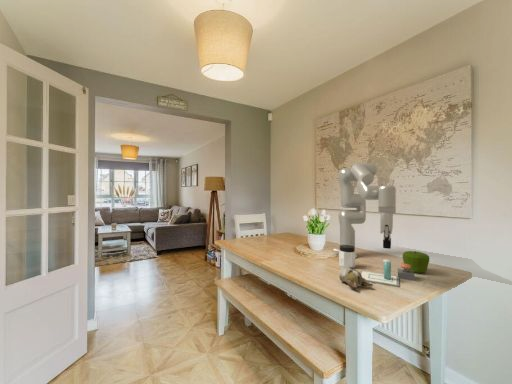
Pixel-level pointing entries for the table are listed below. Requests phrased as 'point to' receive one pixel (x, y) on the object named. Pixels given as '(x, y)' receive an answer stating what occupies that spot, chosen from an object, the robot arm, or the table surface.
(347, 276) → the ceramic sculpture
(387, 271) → the marker
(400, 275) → the button housing
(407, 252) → the apple
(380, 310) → the table surface
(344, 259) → the jar
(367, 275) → the white flat board
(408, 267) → the button
